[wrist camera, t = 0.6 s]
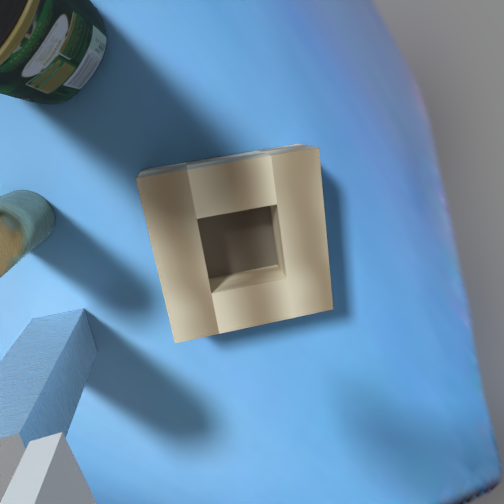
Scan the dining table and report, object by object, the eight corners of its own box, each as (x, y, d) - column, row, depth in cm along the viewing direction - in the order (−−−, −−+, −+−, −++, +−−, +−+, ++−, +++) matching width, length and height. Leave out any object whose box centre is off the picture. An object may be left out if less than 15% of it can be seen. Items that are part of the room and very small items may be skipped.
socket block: (175, 312, 34) (175, 343, 29) (142, 169, 30) (135, 178, 26) (313, 284, 35) (333, 309, 31) (298, 143, 32) (318, 147, 27)
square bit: (47, 361, 34) (-38, 515, 21) (32, 318, 32) (-70, 454, 19) (97, 350, 34) (44, 495, 21) (83, 308, 33) (18, 433, 20)
